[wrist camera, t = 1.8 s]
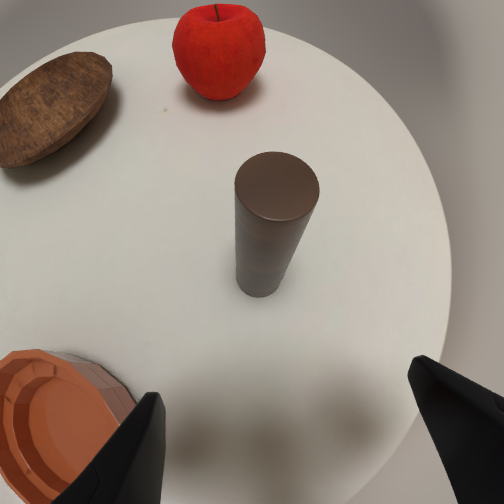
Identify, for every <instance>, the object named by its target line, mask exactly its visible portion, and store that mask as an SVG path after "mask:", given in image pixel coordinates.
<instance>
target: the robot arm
mask: <svg viewBox="0 0 504 504" xmlns="http://www.w3.org/2000/svg"><path fill="white" fill-rule="evenodd" d="M408 380H409V383H410V385H411V388H412V391H413V394H414V397H415V400H416V403H417V406H418V408H419V411H420V413H421V415H422V417H423V420H424V422H425V424H426V426H427V428H428V431H429V433H430V435H431V437H432V440H433V442H434V444H435V446H436V449H437V451H438V453H439V456H440V458H441V461H442V463H443V465H444V467H445V470H446V473H447V475H448V478H449V480H450V482H451V485H452V488H453V491H454V494H455V496H456V499H457V502H458V504H504V397H502V396H500V395H498V394H496V393H493V392H492V391H490V390H488V389H486V388H484V387H482V386H481V385H479V384H477V383H475V382H473V381H471V380H470V379H468V378H466V377H464V376H462V375H460V374H458V373H456V372H455V371H453V370H451V369H449V368H447V367H445V366H443V365H441V364H440V363H438V362H436V361H434V360H432V359H430V358H428V357H427V356H425V355H420V356H417V357H414V358H413V360H412V362H411V365H410V368H409V371H408ZM165 418H166V412H165V407H164V404H163V401H162V399H161V396H160V394H159V393H158V392H147V393H146V394H145V395H144V396H143V397H142V398H141V400H140V401H139V402H138V403H137V405H136V406H135V407H134V408H133V410H132V411H131V412H130V413H129V415H128V416H127V417H126V418H125V420H124V421H123V422H122V423H121V425H120V426H119V427H118V428H117V429H116V431H115V432H114V433H113V434H112V436H111V437H110V438H109V439H108V441H107V442H106V443H105V444H104V446H103V447H102V448H101V449H100V450H99V452H98V453H97V454H96V455H95V457H94V458H93V459H92V461H90V463H89V464H88V465H87V466H86V468H85V469H84V470H83V471H82V472H81V473H80V475H79V476H78V477H77V478H76V479H75V480H74V481H73V482H72V483H71V484H70V485H69V486H68V487H67V488H66V489H65V490H64V491H63V492H62V493H60V494H59V495H58V496H57V497H56V498H55V499H54V500H53V501H52V502H51V503H50V504H160V500H161V489H162V479H163V470H164V461H165V451H166V440H165Z"/></svg>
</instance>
